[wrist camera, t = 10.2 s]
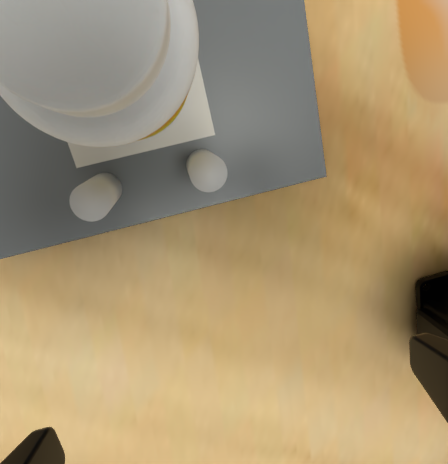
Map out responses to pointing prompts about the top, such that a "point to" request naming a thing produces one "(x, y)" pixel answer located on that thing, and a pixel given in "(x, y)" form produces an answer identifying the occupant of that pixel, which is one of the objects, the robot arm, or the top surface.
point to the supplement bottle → (98, 66)
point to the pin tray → (177, 138)
